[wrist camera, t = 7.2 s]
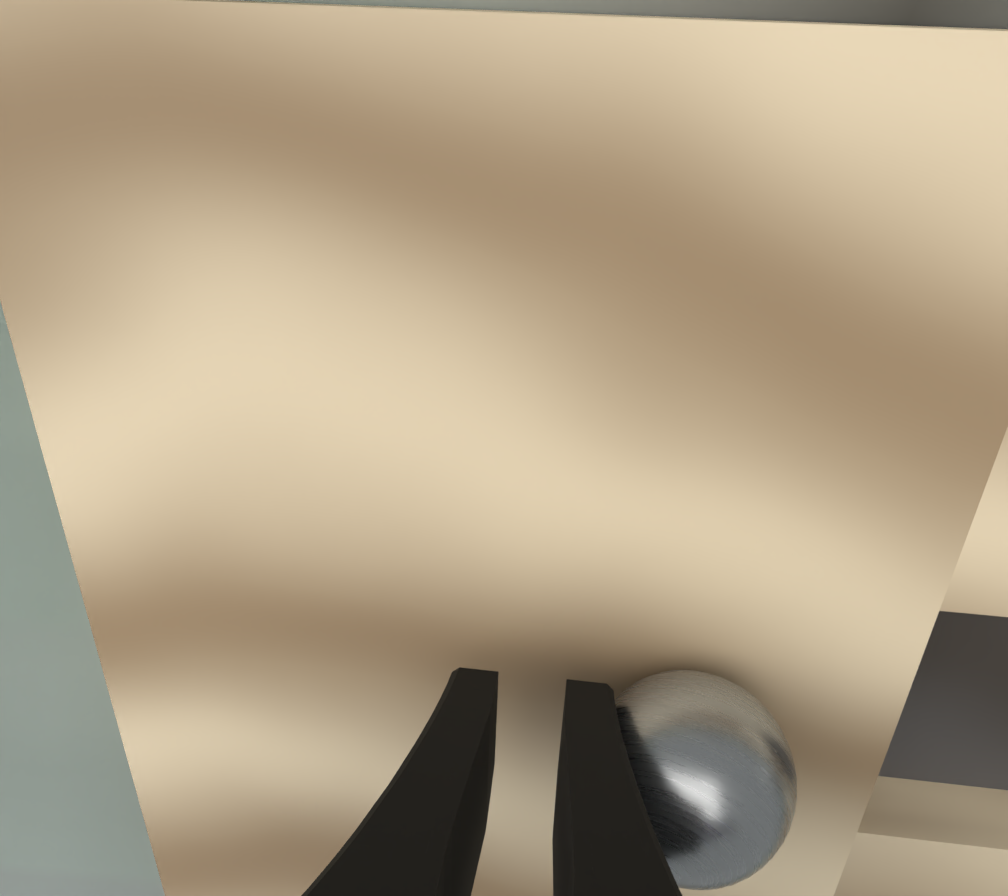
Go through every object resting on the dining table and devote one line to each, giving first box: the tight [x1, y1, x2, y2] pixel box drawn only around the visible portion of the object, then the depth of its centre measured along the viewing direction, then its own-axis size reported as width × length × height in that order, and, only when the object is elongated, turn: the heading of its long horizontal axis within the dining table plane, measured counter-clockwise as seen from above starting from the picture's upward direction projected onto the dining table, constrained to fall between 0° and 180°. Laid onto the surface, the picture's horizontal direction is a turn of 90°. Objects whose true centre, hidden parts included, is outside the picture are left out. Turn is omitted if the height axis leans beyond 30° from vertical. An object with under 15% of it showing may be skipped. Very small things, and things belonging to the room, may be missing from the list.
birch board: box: [0, 0, 1008, 896], centre depth 14 cm, size 20×24×2 cm
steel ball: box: [615, 670, 797, 890], centre depth 12 cm, size 3×3×3 cm
